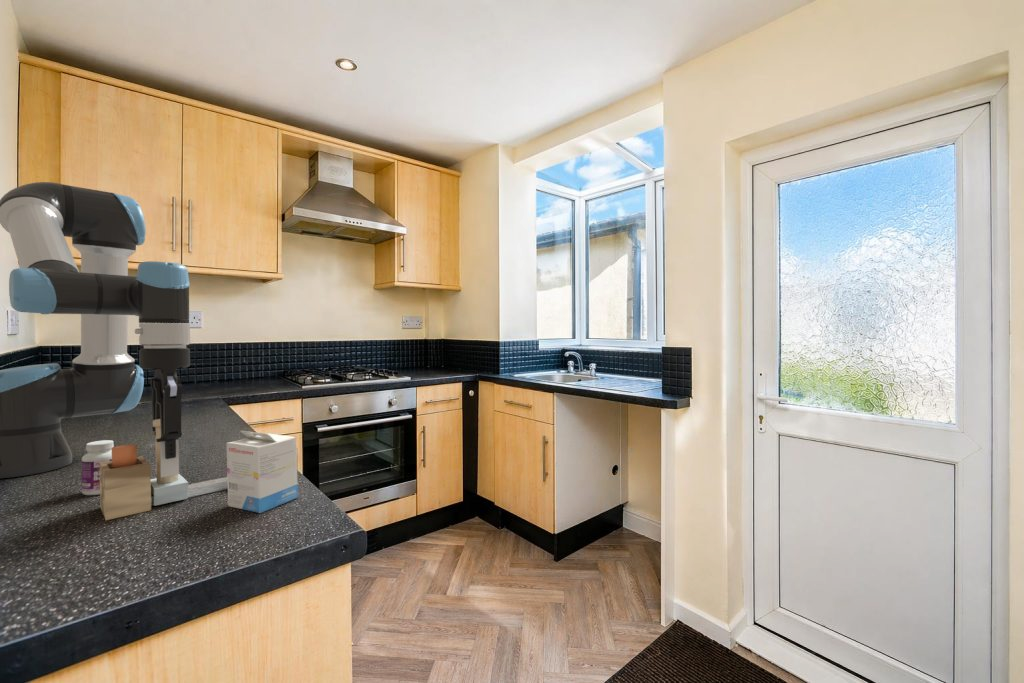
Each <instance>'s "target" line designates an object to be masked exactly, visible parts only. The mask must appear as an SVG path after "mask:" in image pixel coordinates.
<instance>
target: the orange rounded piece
mask: <svg viewBox="0 0 1024 683" xmlns="http://www.w3.org/2000/svg"><path fill="white" fill-rule="evenodd" d="M137 457H138V445H137V444H123V445H122V444H121V445H117V446H114V447H113V448H112V469H114V468H120V467H126V466H132V465H137Z"/></svg>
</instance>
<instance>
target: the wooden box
mask: <svg viewBox="0 0 1024 683" xmlns="http://www.w3.org/2000/svg"><path fill="white" fill-rule="evenodd" d="M99 467H100V494H99V500H100V501H99V504H100V505H99V507H100V510H101V513H102V515H103V517H104V519H105V521H109V520H113V519H118V518H122V517H126V516H131V515H135V514H140V513H145V512H149V511H152V506H151V479H152V478H151V464H150V463H149V462H148V460H146V459H145V457H144V456H143V455H141V456H137V465H132V466H126V467H120V468H114V469H112V461H108V462H102V463H99Z"/></svg>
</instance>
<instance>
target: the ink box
mask: <svg viewBox="0 0 1024 683" xmlns="http://www.w3.org/2000/svg"><path fill="white" fill-rule="evenodd" d="M240 433H241V434H243V435H244V436H245V437H246V438H241V439H239V440H234V441H229V442H225V443H226V468H227V469H226V473H227V474H226V477H227V481H228V489H227V506H228V507H231V508H233V509H234V508H235V509H240V510H244V511H247V512H253V513H257V514H261V513H264V512H266V511H270V510H271V509H275V508H277V507H279V506H281V505H284V504H286V503H289V502H290V501H294V500H295V499H298V498H299V490H298V488H299V486H298V464H297V463H298V459H297V458H298V457H297V456H298V455H297V437H296V436H289V435H282V434H276V433H268V432H267V433H264V432H254V431H249V430H240Z"/></svg>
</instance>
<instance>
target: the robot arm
mask: <svg viewBox="0 0 1024 683" xmlns="http://www.w3.org/2000/svg"><path fill="white" fill-rule="evenodd" d="M0 225H1V227H2V229H4V230H5V231H6V232H7V233H8V234H9V235H10V238H11V243H12V245H13V248H14V252H15V254H16V255H15V256H16V258H17V259H16V260H17V263H18V265H19V267H18V268H13V269H12V270H11V271H10V274H9V276H8V277H9V278H8V279H9V280H8V281H9V282H8V295H9V303H10V306H11V308H12V309H13V310H14V311H16V312H18V313H27V314H28V313H29V314H32V313H33V314H41V315H51V314H52V315H56V314H57V315H62V314H63V315H80V354H79V355H78V356H76V357H74V358H73V359H72V363H71V364H72V368H62V366H60V364H59V363H56V362H55V363H52V362H51V363H43V364H41V363H40V364H32V365H24V366H16V367H10V368H5V369H0V479H9V478H16V477H23V476H31V475H37V474H41V473H46V472H50V471H54V470H57V469H61V468H65V467H66V466H69V465H71V464H72V463H73V452H72V449H71V448H70V446H69V444H68V442H67V439H66V437H65V436H64V433H63V432H62V425H61V424H62V419H69V418H77V417H86V416H87V417H88V416H95V415H96V416H97V415H105V414H106V415H107V414H109V415H114V414H116V413H122V412H129V411H132V410H133V409H134V408H136V407H137V405H138V404H139V403H140V400H141V399H142V395H143V390H144V385H145V384H144V382H145V377H144V370H154V377H152V378H150V382H149V385H150V389H151V408H152V409H151V410H152V411H151V413H152V421H153V420H156V419H160V423H161V438H159V439H156V427H153V426H152V427H151V429H152V431H153V432H154V434H153V435H154V436H155V438H154V443H155V448H154V450H155V452H154V453H155V454H156V442H159V443H160V477H166V476H171V475H177V474H180V460H179V459H180V450H179V449H180V448H179V438H182V435H183V433H182V393H183V385H182V379H181V378H180V377H178V372H177V369H185V368H188V367H190V365H191V349H190V348H189V347H187V346H189V345H190V343H191V324H190V286H191V282H190V278H189V270H188V268H187V266H185V265H184V264H181V263H176V262H168V261H157V260H156V261H153V260H152V261H151V260H150V261H142V262H140V263H138V265H137V274H136V276H135V275H134V276H133V275H129V258H130V257H131V256H132V255H134V254H135V253H136V252H137V246H138V247H139V246H142V245H143V244H144V243H145V241H146V233H147V232H146V231H147V230H146V220H145V217H144V213H143V209H142V207H141V205H140V204H139V203H138V201H137V200H135V199H134V198H133V197H130V196H128V195H127V196H126V195H123V194H118V193H115V192H110V191H103V190H97V189H91V188H85V187H81V186H73V185H69V184H62V183H58V182H50V181H42V182H41V181H40V182H39V181H37V182H31V183H26V184H23V185H20V186H16V187H15V188H13V189H11V190H9V191H8V192H6V193H5V194H3V196H2V197H1V198H0ZM66 238H71V246H72V247H73V248H74V249H76V251H78V252H79V253H80V270H79V267H78V266H77V263H76V261H75V258H74V256H73V254H72V252H71V250H70V246H69V245H68V242H67V240H66ZM128 316H136V317H138V323H139V324H138V326H139V328H135V330H134V333H135V334H136V335H139V336H138V341H139V345H140V346H143V348H140V350H138V357H139V358H138V363H139V364H135V362H136V361H135V358H134V357H132V356H131V355H130V354H129V353H128Z"/></svg>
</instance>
